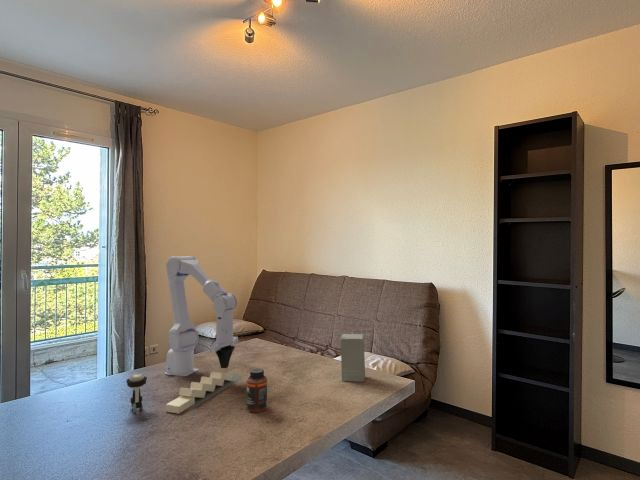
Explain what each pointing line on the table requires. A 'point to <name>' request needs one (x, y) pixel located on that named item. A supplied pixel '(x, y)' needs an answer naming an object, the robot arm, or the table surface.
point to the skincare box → (352, 357)
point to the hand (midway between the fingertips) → (224, 367)
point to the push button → (136, 390)
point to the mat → (215, 390)
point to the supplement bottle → (256, 391)
